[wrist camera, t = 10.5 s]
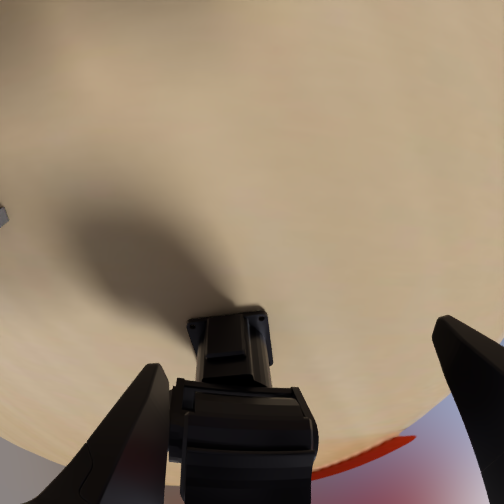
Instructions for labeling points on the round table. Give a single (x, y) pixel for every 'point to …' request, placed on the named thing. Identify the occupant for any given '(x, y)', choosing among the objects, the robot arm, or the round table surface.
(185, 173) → the round table surface
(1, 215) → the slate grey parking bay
